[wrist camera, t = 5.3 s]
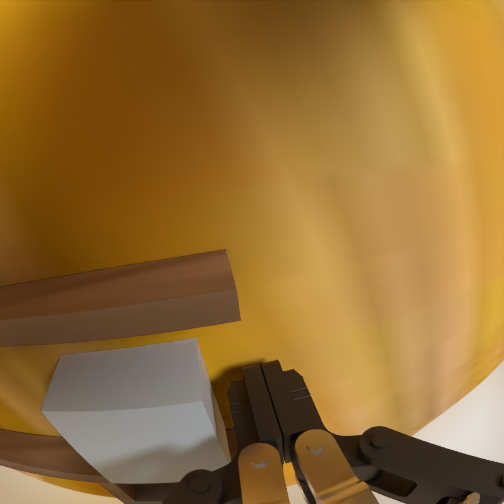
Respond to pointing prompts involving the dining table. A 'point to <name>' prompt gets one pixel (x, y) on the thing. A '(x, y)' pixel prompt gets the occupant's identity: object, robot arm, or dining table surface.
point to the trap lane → (111, 327)
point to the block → (139, 412)
